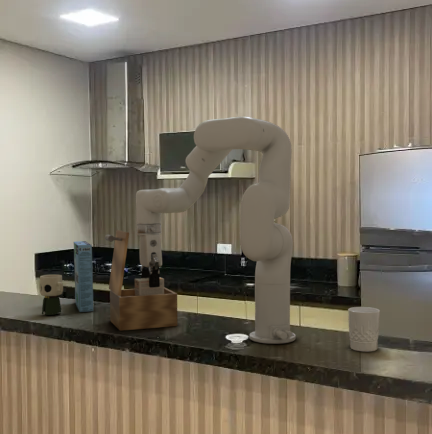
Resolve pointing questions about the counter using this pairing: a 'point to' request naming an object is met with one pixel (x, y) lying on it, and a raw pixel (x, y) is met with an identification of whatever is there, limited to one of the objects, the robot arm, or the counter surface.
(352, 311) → the white cup
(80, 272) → the gum box
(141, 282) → the supplement box
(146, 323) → the chest
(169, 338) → the counter surface
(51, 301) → the character mug
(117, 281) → the lid
